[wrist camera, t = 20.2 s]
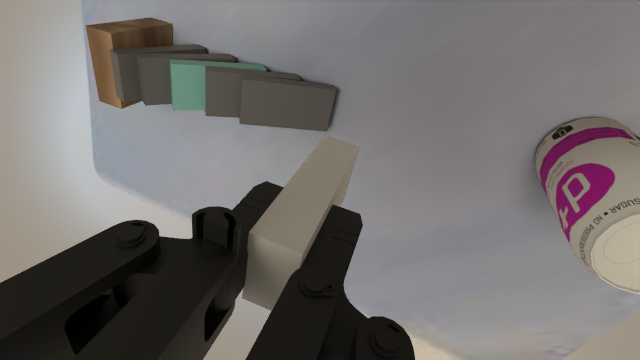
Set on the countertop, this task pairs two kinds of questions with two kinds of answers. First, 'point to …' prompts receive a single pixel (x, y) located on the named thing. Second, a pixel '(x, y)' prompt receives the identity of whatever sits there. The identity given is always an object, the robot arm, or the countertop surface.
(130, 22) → the end block
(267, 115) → the domino
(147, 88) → the domino
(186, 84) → the domino
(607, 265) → the supplement can
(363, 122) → the countertop surface
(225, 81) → the domino
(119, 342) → the robot arm
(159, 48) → the domino
